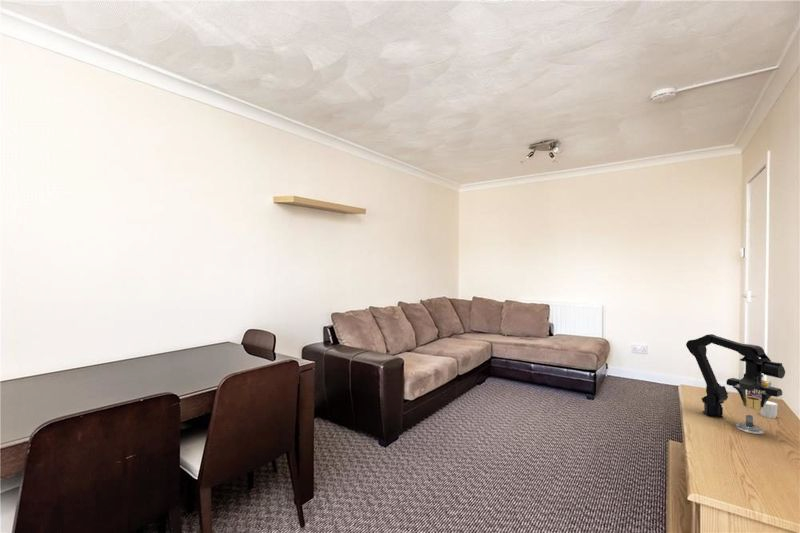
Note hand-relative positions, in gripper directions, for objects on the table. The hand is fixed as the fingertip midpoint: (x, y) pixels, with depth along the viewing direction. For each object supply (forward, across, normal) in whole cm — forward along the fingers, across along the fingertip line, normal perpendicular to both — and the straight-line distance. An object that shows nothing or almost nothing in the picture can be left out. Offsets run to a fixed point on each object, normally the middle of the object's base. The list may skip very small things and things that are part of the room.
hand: (752, 404), depth 176 cm
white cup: (+12, -4, +26) cm, 29 cm away
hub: (+12, 0, -3) cm, 12 cm away
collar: (+1, 0, 0) cm, 1 cm away
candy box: (+12, -11, +36) cm, 39 cm away
